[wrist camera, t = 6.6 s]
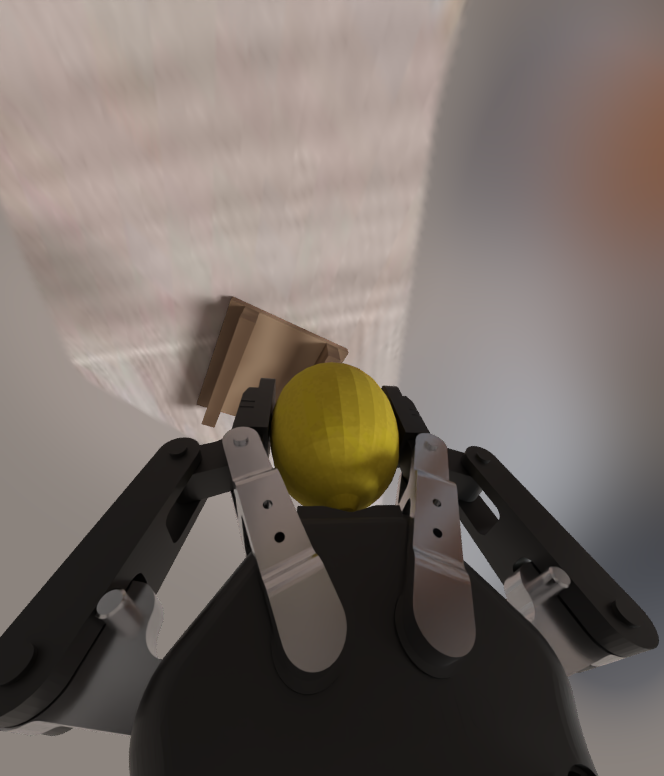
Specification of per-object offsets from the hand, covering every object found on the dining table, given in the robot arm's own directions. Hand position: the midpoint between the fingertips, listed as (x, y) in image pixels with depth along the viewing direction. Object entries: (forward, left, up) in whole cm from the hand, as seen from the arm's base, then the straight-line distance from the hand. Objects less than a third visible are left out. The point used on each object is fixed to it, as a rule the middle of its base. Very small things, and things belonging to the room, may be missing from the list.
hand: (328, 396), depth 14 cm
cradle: (-1, -11, -18) cm, 21 cm away
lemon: (0, 0, -2) cm, 2 cm away
